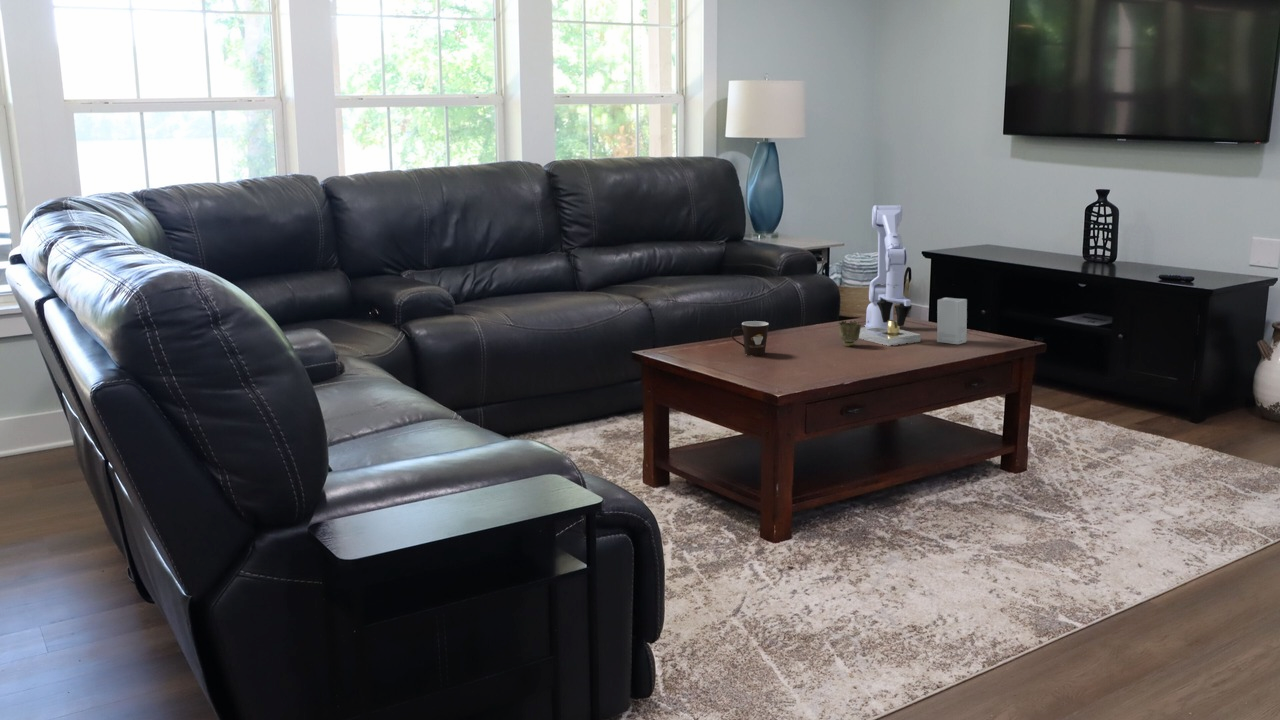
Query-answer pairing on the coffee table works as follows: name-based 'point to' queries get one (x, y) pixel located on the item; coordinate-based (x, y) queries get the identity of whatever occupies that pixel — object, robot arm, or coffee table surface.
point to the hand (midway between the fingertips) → (893, 323)
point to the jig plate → (887, 336)
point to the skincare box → (952, 320)
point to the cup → (849, 332)
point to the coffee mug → (753, 337)
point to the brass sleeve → (892, 328)
